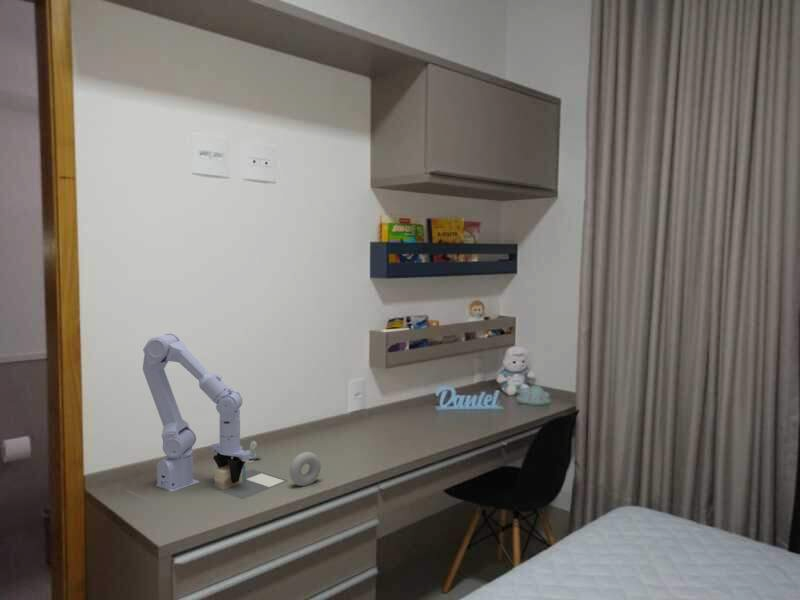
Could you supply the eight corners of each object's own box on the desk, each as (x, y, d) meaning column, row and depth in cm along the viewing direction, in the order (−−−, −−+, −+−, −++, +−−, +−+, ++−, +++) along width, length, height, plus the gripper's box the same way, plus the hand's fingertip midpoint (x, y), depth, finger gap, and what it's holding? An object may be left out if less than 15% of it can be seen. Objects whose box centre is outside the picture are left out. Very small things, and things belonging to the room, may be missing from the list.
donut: (316, 480, 177) (316, 447, 177) (322, 483, 175) (323, 450, 174) (287, 488, 171) (287, 454, 170) (293, 491, 168) (293, 457, 168)
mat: (242, 501, 161) (242, 498, 161) (206, 487, 170) (206, 485, 170) (288, 482, 175) (288, 480, 175) (252, 470, 184) (252, 468, 184)
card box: (223, 489, 167) (223, 472, 167) (214, 486, 170) (214, 469, 169) (245, 481, 174) (245, 464, 174) (236, 478, 176) (236, 461, 176)
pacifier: (248, 466, 189) (264, 460, 194) (248, 447, 189) (264, 442, 193) (236, 460, 194) (251, 455, 199) (235, 442, 194) (251, 437, 198)
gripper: (257, 435, 170) (257, 481, 171) (225, 426, 178) (225, 470, 179) (237, 441, 164) (238, 489, 165) (205, 432, 173) (205, 477, 173)
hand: (230, 480), depth 172 cm, fingers closed on card box, 4 cm apart
